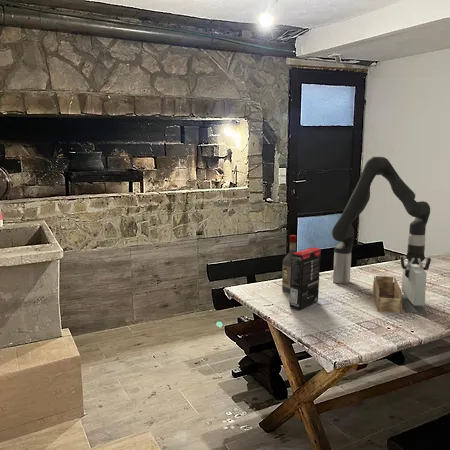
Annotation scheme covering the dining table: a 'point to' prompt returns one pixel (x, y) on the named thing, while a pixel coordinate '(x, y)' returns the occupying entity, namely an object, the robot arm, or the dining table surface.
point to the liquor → (288, 265)
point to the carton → (391, 288)
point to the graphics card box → (304, 278)
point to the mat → (412, 306)
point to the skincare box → (414, 284)
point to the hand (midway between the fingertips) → (413, 277)
